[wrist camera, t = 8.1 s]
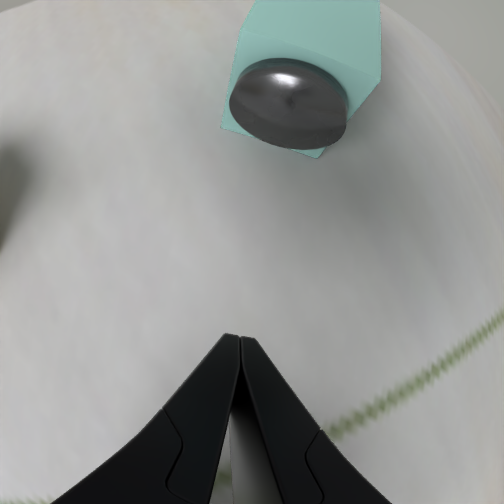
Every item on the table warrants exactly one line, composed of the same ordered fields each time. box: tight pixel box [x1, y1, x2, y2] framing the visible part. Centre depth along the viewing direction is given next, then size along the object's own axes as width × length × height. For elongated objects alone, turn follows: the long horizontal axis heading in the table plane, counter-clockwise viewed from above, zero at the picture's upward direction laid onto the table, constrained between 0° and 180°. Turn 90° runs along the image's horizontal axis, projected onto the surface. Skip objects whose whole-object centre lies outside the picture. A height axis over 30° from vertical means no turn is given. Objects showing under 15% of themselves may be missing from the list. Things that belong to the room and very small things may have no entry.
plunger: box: [229, 58, 348, 150], centre depth 19 cm, size 12×7×7 cm, turn 165°
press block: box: [221, 0, 381, 159], centre depth 21 cm, size 12×8×10 cm, turn 165°
